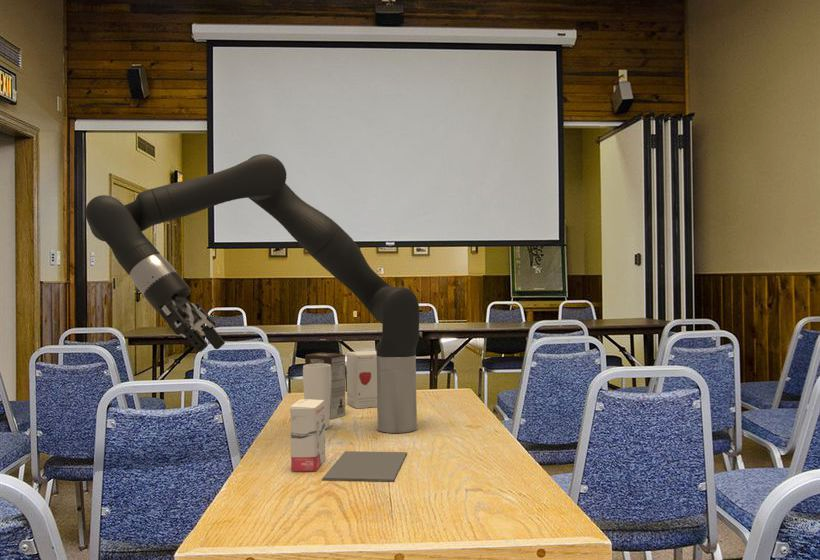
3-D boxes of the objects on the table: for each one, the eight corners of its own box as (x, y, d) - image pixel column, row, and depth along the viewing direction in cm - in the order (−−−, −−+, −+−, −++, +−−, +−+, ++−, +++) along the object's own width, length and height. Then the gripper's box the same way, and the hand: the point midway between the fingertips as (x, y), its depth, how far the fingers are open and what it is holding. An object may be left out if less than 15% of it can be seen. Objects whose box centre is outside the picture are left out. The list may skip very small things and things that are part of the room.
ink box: (316, 472, 116) (315, 406, 116) (289, 472, 116) (288, 406, 116) (326, 459, 124) (325, 398, 125) (301, 459, 125) (300, 398, 125)
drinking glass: (298, 430, 150) (297, 366, 150) (313, 424, 156) (312, 363, 156) (323, 432, 147) (322, 367, 148) (337, 426, 154) (336, 363, 154)
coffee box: (304, 416, 167) (303, 354, 167) (320, 411, 172) (319, 352, 172) (331, 419, 162) (330, 356, 162) (347, 415, 167) (346, 353, 167)
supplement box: (356, 409, 175) (355, 354, 175) (346, 404, 183) (345, 351, 183) (387, 406, 179) (386, 352, 179) (376, 401, 187) (375, 350, 187)
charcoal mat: (345, 453, 129) (345, 451, 129) (406, 454, 127) (406, 452, 127) (322, 480, 111) (322, 477, 111) (393, 481, 109) (393, 479, 109)
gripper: (157, 268, 116) (213, 336, 114) (190, 272, 130) (240, 333, 129) (126, 295, 116) (182, 363, 115) (162, 296, 130) (212, 357, 129)
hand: (212, 347), depth 122 cm, fingers open, 8 cm apart
